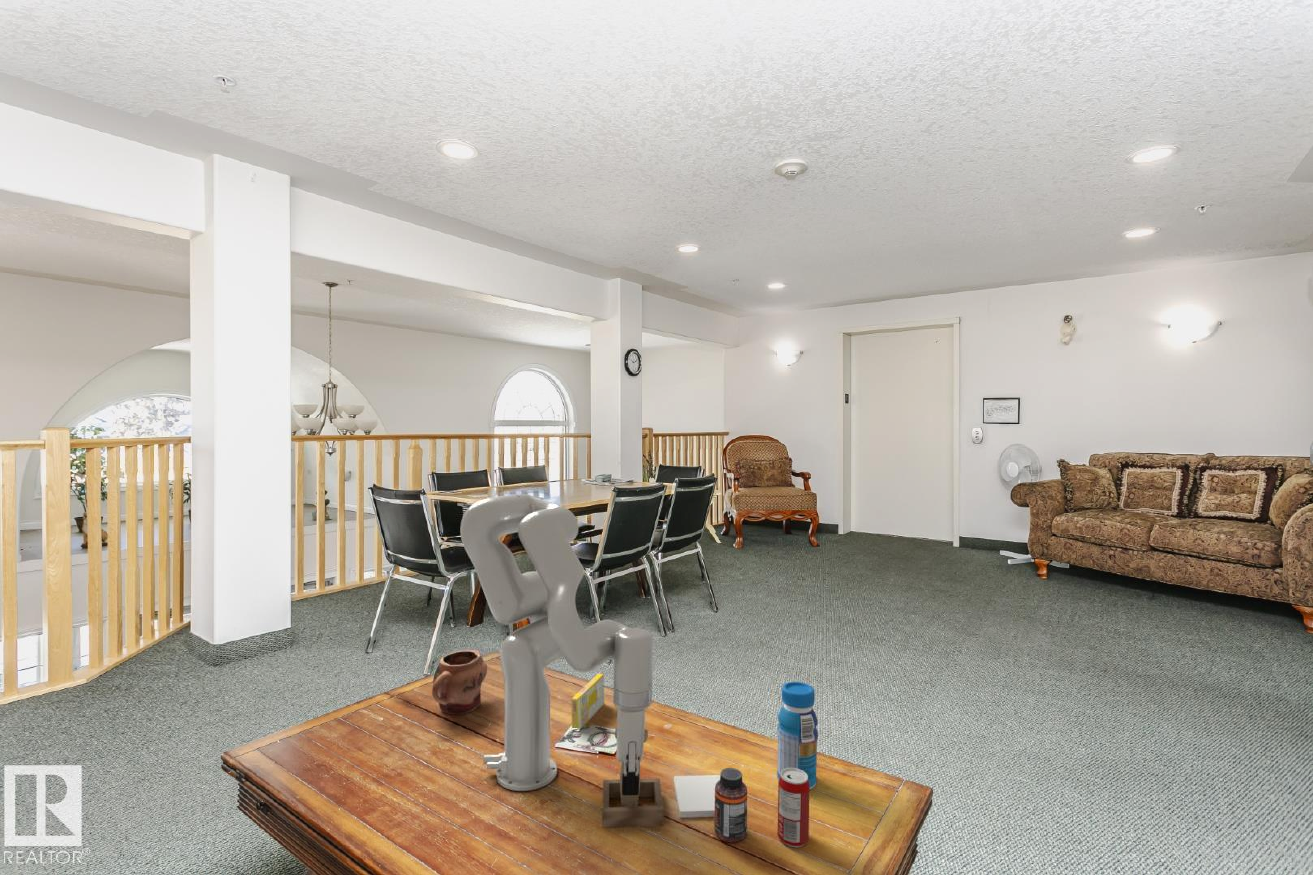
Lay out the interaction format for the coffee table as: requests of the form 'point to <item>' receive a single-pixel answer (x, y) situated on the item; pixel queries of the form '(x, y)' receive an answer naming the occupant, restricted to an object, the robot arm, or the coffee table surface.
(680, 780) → the plate
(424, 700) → the coffee table surface
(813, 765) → the beverage bottle
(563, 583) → the robot arm
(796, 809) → the soda can
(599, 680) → the candy box
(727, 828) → the supplement bottle
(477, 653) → the brown clay mug
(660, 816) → the socket frame
